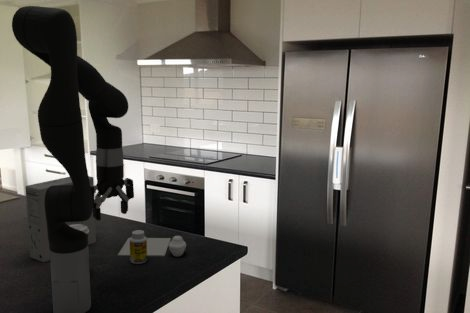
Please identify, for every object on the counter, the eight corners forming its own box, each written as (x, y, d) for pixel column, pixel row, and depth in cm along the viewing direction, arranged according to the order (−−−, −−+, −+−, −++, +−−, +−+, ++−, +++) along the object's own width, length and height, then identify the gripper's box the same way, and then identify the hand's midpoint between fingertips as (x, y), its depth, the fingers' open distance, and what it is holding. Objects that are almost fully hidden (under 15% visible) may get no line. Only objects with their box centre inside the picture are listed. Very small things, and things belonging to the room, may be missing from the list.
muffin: (175, 259, 140) (175, 240, 139) (164, 254, 144) (164, 235, 143) (190, 254, 144) (190, 235, 143) (178, 249, 149) (178, 231, 147)
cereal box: (82, 238, 158) (79, 174, 154) (96, 242, 154) (93, 176, 150) (29, 257, 140) (24, 185, 135) (44, 263, 136) (39, 189, 131)
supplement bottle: (133, 266, 135) (132, 236, 133) (127, 259, 139) (126, 230, 138) (149, 262, 138) (149, 233, 136) (143, 256, 142) (142, 228, 141)
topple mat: (164, 256, 143) (164, 255, 143) (117, 255, 142) (117, 254, 142) (170, 239, 158) (170, 238, 158) (128, 238, 158) (128, 237, 158)
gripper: (93, 168, 111) (95, 225, 114) (138, 161, 121) (139, 214, 124) (79, 163, 116) (81, 218, 119) (124, 157, 126) (125, 208, 129)
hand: (111, 216), depth 122 cm, fingers open, 8 cm apart
